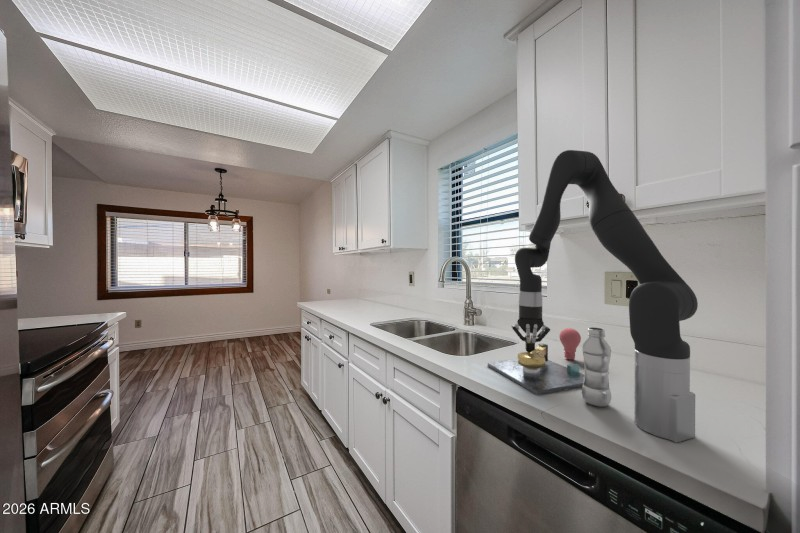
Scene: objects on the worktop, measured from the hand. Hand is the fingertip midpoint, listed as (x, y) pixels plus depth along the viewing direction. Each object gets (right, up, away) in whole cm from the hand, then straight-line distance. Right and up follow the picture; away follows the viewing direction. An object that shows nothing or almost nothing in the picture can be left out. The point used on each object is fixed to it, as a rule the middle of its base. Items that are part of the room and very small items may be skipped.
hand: (530, 352), depth 102 cm
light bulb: (+19, -5, +9) cm, 22 cm away
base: (0, -6, -5) cm, 8 cm away
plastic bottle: (+6, -6, -26) cm, 27 cm away
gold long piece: (0, -3, -5) cm, 6 cm away
